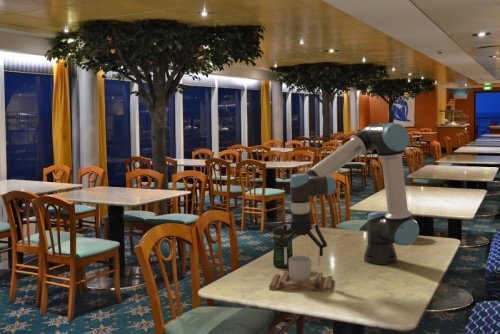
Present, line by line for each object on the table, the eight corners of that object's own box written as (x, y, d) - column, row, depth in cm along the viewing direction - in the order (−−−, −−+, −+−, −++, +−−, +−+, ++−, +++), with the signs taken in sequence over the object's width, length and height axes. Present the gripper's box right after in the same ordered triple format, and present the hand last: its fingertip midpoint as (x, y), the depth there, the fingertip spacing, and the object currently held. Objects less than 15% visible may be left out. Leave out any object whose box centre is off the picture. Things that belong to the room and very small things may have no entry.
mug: (305, 287, 217) (305, 262, 216) (285, 284, 221) (284, 259, 220) (318, 278, 228) (318, 255, 227) (298, 276, 232) (298, 252, 231)
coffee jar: (285, 269, 247) (285, 228, 245) (270, 266, 251) (269, 226, 249) (296, 264, 255) (295, 224, 253) (281, 261, 259) (280, 223, 257)
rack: (332, 279, 229) (332, 273, 229) (330, 291, 214) (330, 284, 213) (275, 277, 234) (274, 271, 234) (269, 289, 218) (269, 282, 218)
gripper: (332, 210, 223) (333, 261, 225) (271, 210, 228) (273, 260, 230) (331, 213, 216) (333, 266, 218) (268, 214, 221) (270, 265, 223)
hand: (302, 263), depth 224 cm, fingers open, 13 cm apart
